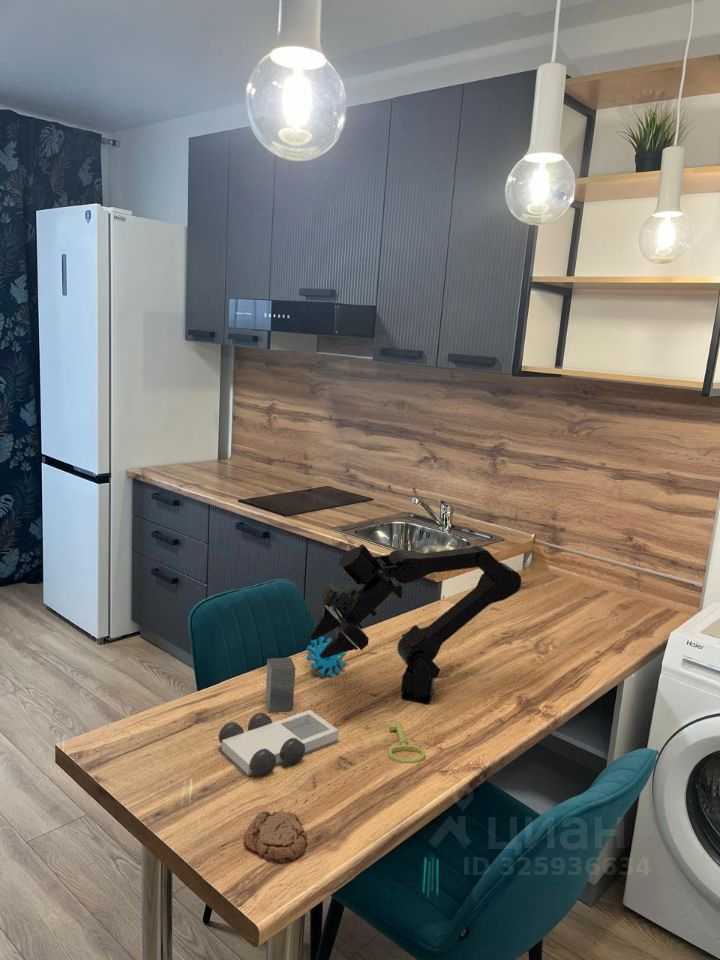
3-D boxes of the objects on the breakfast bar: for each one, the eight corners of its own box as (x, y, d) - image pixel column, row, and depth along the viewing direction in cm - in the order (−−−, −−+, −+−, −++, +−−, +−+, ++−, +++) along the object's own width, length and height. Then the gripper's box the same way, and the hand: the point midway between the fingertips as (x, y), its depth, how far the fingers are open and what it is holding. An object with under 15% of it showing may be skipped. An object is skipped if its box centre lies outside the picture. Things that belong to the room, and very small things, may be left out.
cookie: (276, 874, 108) (277, 857, 108) (231, 838, 115) (232, 822, 115) (323, 843, 116) (324, 826, 115) (278, 811, 123) (279, 795, 122)
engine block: (288, 699, 159) (290, 657, 157) (292, 711, 154) (295, 667, 152) (265, 701, 158) (267, 658, 156) (269, 713, 153) (271, 669, 151)
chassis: (304, 717, 152) (306, 697, 151) (342, 745, 143) (344, 724, 142) (217, 748, 139) (218, 726, 138) (253, 781, 130) (254, 757, 129)
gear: (314, 676, 167) (304, 635, 172) (302, 685, 171) (293, 645, 176) (353, 673, 174) (343, 634, 179) (341, 682, 178) (332, 643, 182)
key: (398, 729, 151) (399, 720, 151) (429, 762, 141) (430, 752, 140) (367, 735, 148) (368, 725, 148) (396, 769, 137) (397, 759, 137)
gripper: (334, 559, 163) (282, 607, 162) (358, 588, 145) (300, 642, 144) (365, 591, 167) (315, 638, 165) (391, 623, 149) (336, 676, 148)
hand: (315, 647), depth 156 cm, fingers open, 9 cm apart
